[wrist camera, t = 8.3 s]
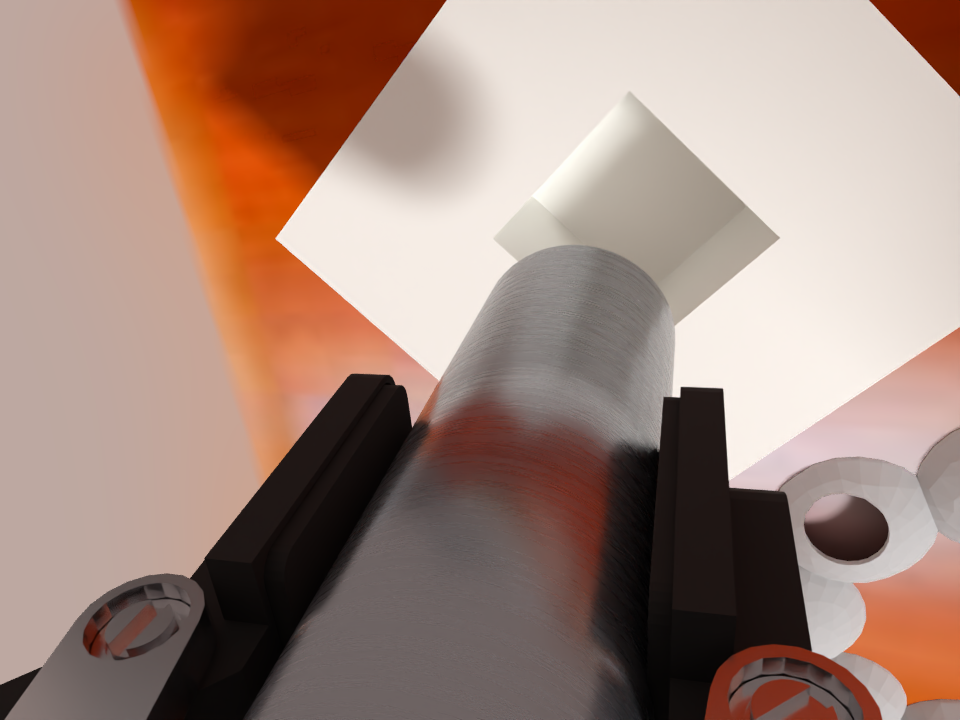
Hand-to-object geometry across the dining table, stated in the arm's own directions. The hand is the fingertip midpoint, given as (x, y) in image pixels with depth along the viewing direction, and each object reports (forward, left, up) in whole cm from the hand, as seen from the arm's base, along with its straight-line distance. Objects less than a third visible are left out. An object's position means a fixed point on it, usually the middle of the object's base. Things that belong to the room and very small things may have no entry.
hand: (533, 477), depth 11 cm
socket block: (0, 0, -17) cm, 17 cm away
